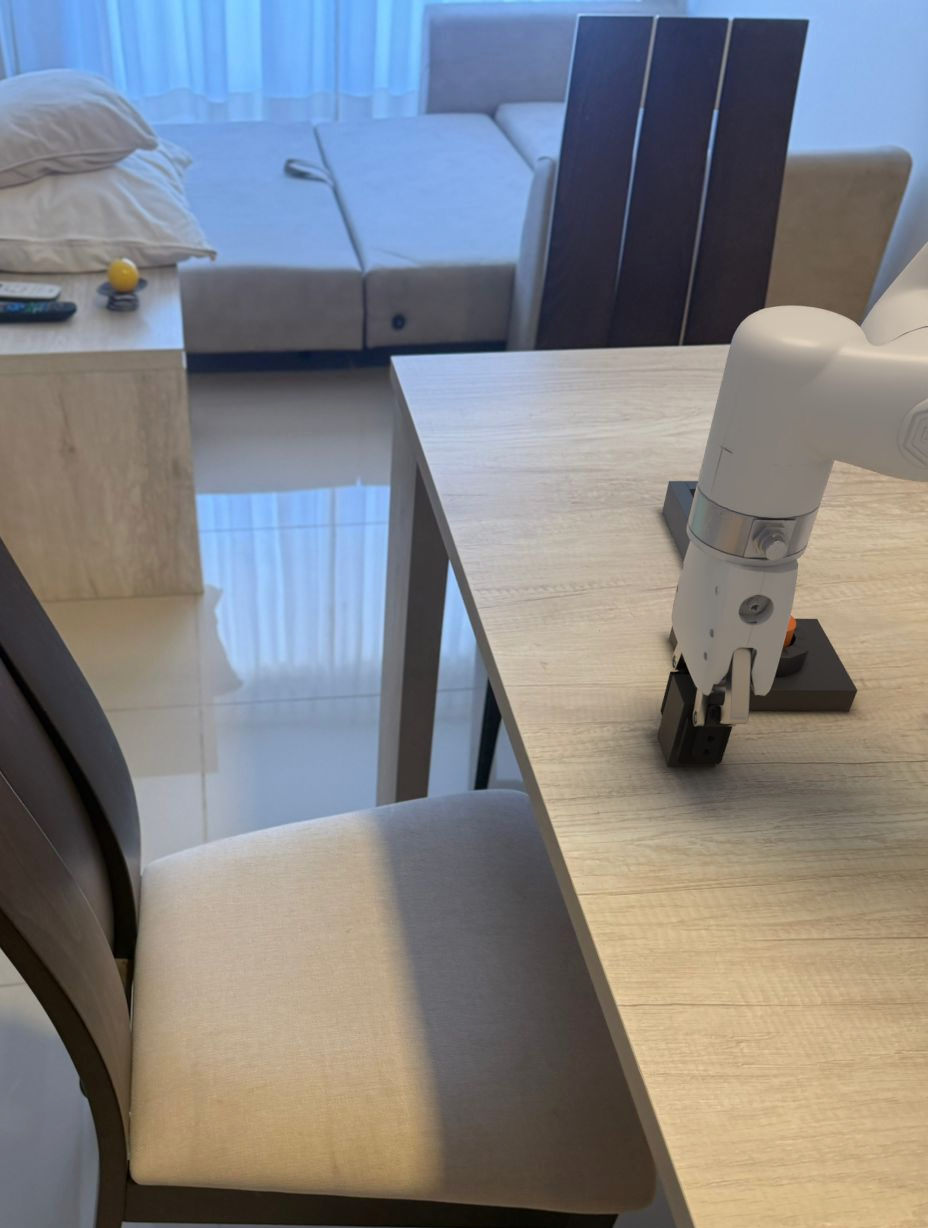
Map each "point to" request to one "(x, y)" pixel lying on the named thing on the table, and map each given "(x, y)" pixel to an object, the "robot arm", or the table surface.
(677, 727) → the block
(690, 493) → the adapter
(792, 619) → the power button
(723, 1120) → the table surface
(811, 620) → the switch block
